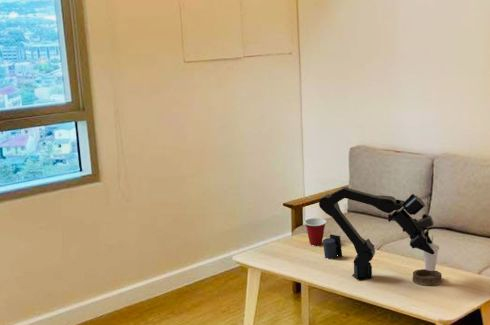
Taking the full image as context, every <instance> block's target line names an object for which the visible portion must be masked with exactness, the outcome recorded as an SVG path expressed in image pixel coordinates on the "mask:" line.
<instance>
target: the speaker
mask: <svg viewBox="0 0 490 325" xmlns="http://www.w3.org/2000/svg"><path fill="white" fill-rule="evenodd" d="M322 244H323V250H324V251H323V252H324V258H325V259H327V258H328V260H333V259H332V258H334V259H335V258H338V257H339V256H342V257H343V252H342V251H343V249H342V241H341V235H336V234H329V237H327V238H323V239H322ZM337 255H338V256H337Z"/></svg>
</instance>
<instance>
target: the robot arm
mask: <svg viewBox="0 0 490 325" xmlns="http://www.w3.org/2000/svg"><path fill="white" fill-rule="evenodd" d="M344 199H347V200H351V201H355V202H358V203H363V204H366V205H369V206H372V207H374V208H376V209H377V210H379V211H381V212H384V213H386V214H388V215H387V218H388V219H387V222H389V223H390V222H391V221H393V220H394V221H395V223H396V224H397V225H399V227H400V228H401V229H402V232H403V233H404V232H405V233H406V234H407V236H409V239H410V241H409V246H410V247H411V248H412V249H418V250H421V251H423V252H424V251H425V252H428V253H430V254H432V255H433V254H434V253H435V252H434V251H433V249H432V248H431V247H430V245H429V244H432V238H431V237H430V235H429V232H430V230H429V228H430V227H432V226H434V222H435V221H434V220H433V218H432V216H431V215H428V214H427V213H423V214H422V215H421V217H422V218H420V219H417V218H412V216H415V215H417V214H418V213H419V212H421V210H423V209H424V208H425V207H426V204H425V202H424V201H423V200H422V199H421V197H419V196H417V195H415V193H412V194H410V195H409V197H408V198H407V199H405V200H401V199H396V198H395V197H394V196H391V195H376V194H371V193H368V192H364V191H361V190H356V189H352V188H349V187H348V186H343V187H342V188H340V189H339V190H336V191H335V192H332V193H326V194H325V195H324V196H322V197H321V198H320V199H319V201H318V205H319V208H320V209H321V210H322V211H323V212H324V213H325V214H326V215H328V216H330V218H332V219H333V221H335V223H336V224H337V225H338V226H339V228H340V229H341V230H342V232H343V233H344V234H345V236H346V237H347V238H348V239H349V241H350V242H351V243H352V244H353V247H354V249H355V252H356V254H357V255H356V256H355V257H354V259H353V273H352V277H354V278H355V279H356V280H358V281H364V280H372V279H373V278H374V277H373V266H372V263H371V261H372V260H373V258H374V256H375V254H376V249H375V245H374V244H373V243H372V242H371V240H370V239H369V238H367V239H365V238H363V237H362V236H361V235H360V233H359V231H357V229H356V228H355V227H354V226H353V225H352V223H351V222H350V221H349V220H348V218H347V217H346V215H345V214H344V213H343V212H342V210H341V208H340V204H339V202H340V201H342V200H344Z"/></svg>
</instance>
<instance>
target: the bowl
mask: <svg viewBox="0 0 490 325" xmlns="http://www.w3.org/2000/svg"><path fill="white" fill-rule="evenodd" d="M412 282H413V283H414V284H416V285H420V286H423V287H425V286H426V287H434V286H440V285H441V284H442V283H443V276H442V272H440V271H438V270H436V269H435V270H434V271H428V270H426V269H425V268H422V269H416V270H414V271H412Z"/></svg>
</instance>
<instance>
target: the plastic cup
mask: <svg viewBox="0 0 490 325" xmlns="http://www.w3.org/2000/svg"><path fill="white" fill-rule="evenodd" d="M326 224H327V220H326V219H324V218H322V217H321V218H320V217H311V218H307V219H305V220H304V225H305V227H306V231H307V237H308V242H309V244H311V245H310V246H312V245H319V246H321V245H322V244H323V240H324V234H325V228H326ZM320 244H321V245H320Z"/></svg>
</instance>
